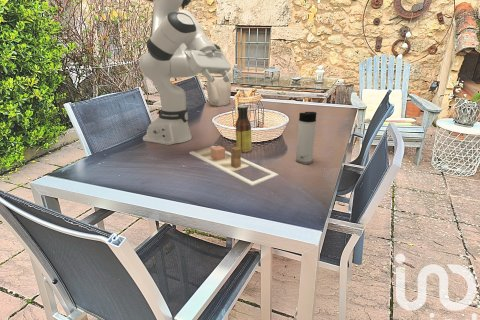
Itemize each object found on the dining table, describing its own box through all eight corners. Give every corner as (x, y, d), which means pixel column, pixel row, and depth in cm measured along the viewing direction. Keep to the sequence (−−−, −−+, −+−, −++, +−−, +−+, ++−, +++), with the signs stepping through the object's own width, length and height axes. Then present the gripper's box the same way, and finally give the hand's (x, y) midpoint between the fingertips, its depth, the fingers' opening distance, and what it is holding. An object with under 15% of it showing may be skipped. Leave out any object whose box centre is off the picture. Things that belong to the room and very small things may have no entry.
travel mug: (303, 166, 122) (307, 114, 115) (292, 160, 128) (296, 110, 120) (316, 163, 125) (321, 112, 117) (305, 157, 130) (309, 108, 123)
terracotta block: (210, 157, 127) (210, 147, 125) (219, 154, 129) (218, 145, 127) (216, 160, 124) (216, 150, 122) (225, 157, 126) (224, 148, 125)
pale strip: (192, 154, 133) (191, 135, 130) (208, 149, 138) (207, 131, 134) (232, 174, 115) (232, 153, 111) (249, 168, 119) (249, 148, 116)
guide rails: (189, 156, 131) (189, 152, 130) (214, 149, 138) (213, 145, 137) (252, 190, 105) (252, 184, 104) (278, 179, 112) (278, 174, 111)
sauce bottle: (253, 151, 136) (254, 105, 129) (248, 156, 131) (249, 108, 123) (238, 149, 138) (238, 103, 131) (233, 155, 133) (233, 107, 125)
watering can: (198, 108, 207) (196, 78, 200) (217, 100, 230) (216, 72, 223) (219, 110, 202) (218, 79, 194) (237, 102, 224) (237, 74, 217)
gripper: (187, 41, 109) (208, 75, 108) (223, 47, 126) (240, 76, 124) (177, 54, 113) (196, 86, 111) (212, 57, 130) (230, 86, 128)
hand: (220, 81), depth 118 cm, fingers open, 8 cm apart
